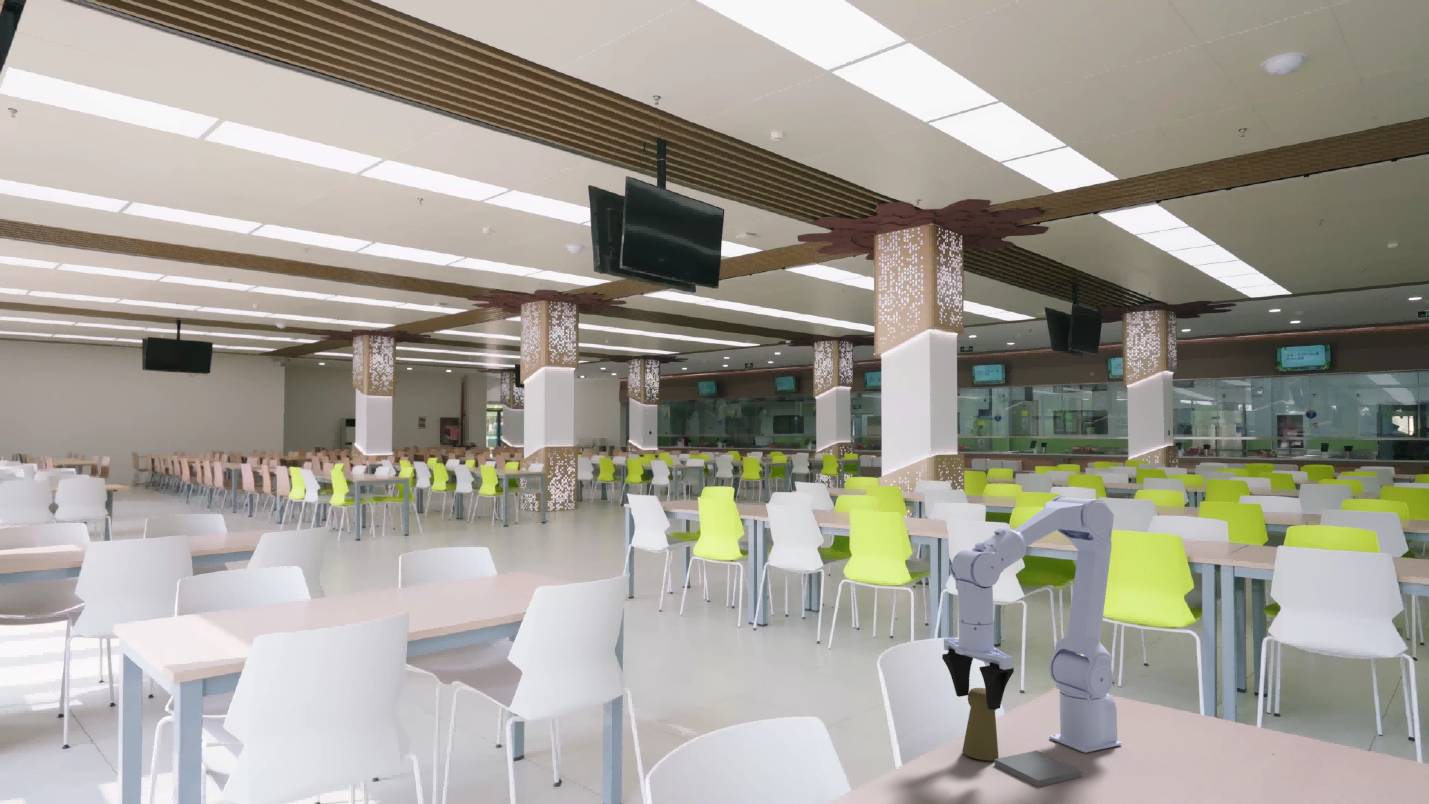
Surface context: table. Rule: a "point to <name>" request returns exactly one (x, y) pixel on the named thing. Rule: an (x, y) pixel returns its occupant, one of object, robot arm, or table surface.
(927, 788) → the table surface
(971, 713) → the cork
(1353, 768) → the table surface
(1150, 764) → the table surface
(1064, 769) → the mat
